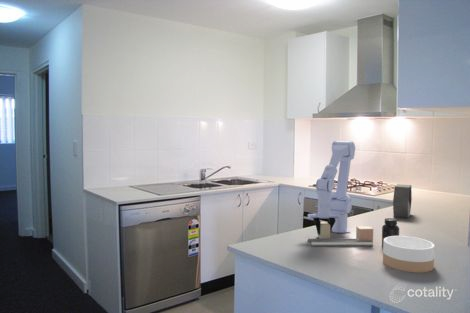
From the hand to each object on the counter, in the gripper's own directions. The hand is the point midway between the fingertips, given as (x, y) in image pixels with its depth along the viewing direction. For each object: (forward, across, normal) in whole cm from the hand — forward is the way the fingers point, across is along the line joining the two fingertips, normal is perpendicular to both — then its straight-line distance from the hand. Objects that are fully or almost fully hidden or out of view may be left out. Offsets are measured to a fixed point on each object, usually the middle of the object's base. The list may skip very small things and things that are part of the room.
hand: (323, 234), depth 172 cm
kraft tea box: (+2, 0, 0) cm, 2 cm away
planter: (+2, +57, +46) cm, 73 cm away
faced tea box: (+2, +16, -8) cm, 18 cm away
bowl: (+2, +23, -33) cm, 40 cm away
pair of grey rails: (+2, +5, -8) cm, 9 cm away
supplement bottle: (+2, +25, -13) cm, 28 cm away
